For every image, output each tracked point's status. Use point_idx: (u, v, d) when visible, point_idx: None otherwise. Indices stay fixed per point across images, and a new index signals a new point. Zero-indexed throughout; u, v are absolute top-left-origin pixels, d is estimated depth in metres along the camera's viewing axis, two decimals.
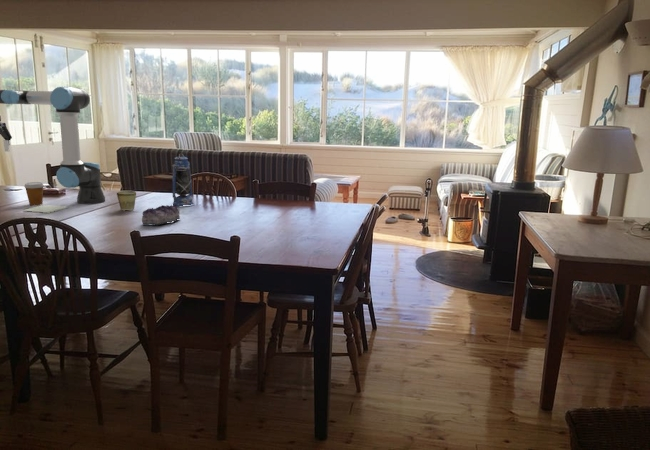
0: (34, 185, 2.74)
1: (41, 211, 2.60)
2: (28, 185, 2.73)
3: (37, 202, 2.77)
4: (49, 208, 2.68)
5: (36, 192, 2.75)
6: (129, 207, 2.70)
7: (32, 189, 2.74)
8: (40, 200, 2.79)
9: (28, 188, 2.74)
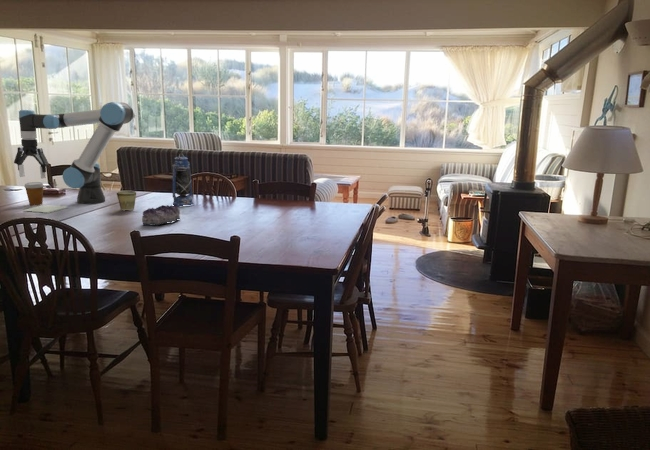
0: (34, 185, 2.74)
1: (41, 211, 2.60)
2: (28, 185, 2.73)
3: (37, 202, 2.77)
4: (49, 208, 2.68)
5: (36, 192, 2.75)
6: (129, 207, 2.70)
7: (32, 189, 2.74)
8: (40, 200, 2.79)
9: (28, 188, 2.74)
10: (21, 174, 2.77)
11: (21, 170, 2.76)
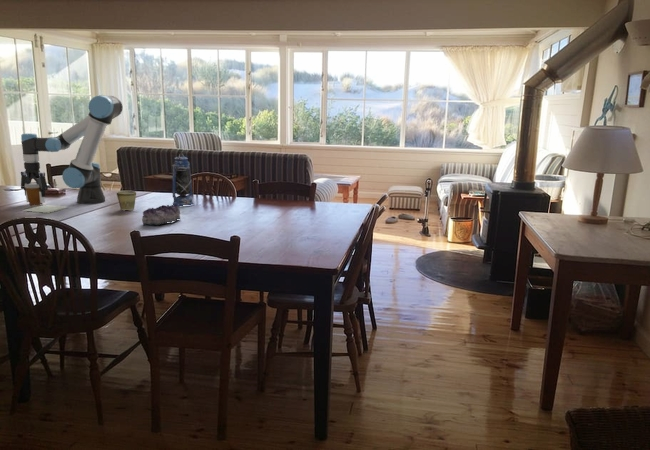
0: (34, 185, 2.74)
1: (41, 211, 2.60)
2: (28, 185, 2.73)
3: (37, 201, 2.77)
4: (49, 208, 2.68)
5: (36, 192, 2.75)
6: (129, 207, 2.70)
7: (32, 189, 2.74)
8: None
9: (28, 188, 2.74)
10: None
11: None
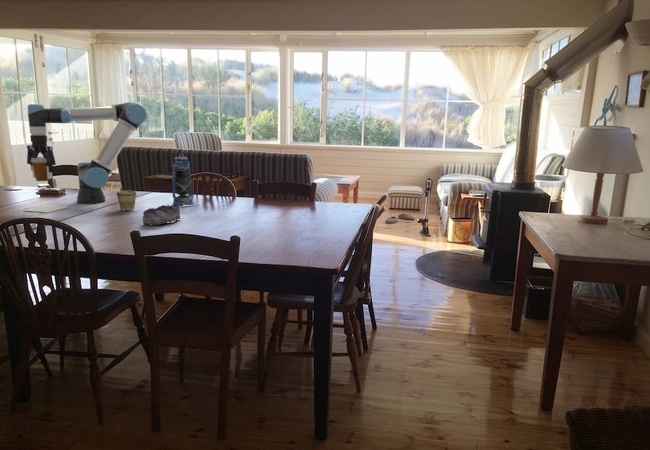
0: (41, 159, 2.58)
1: (41, 211, 2.60)
2: (35, 159, 2.57)
3: (44, 177, 2.61)
4: (49, 208, 2.68)
5: (43, 166, 2.59)
6: (129, 207, 2.70)
7: (39, 163, 2.58)
8: None
9: (35, 162, 2.58)
10: None
11: None
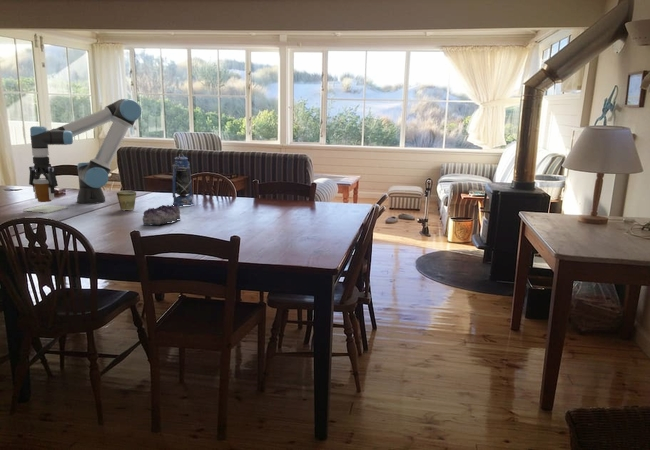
0: (43, 181, 2.60)
1: (41, 211, 2.60)
2: (37, 181, 2.60)
3: (46, 198, 2.64)
4: (49, 208, 2.68)
5: (45, 188, 2.62)
6: (129, 207, 2.70)
7: (41, 185, 2.60)
8: None
9: (37, 184, 2.60)
10: (36, 196, 2.66)
11: None
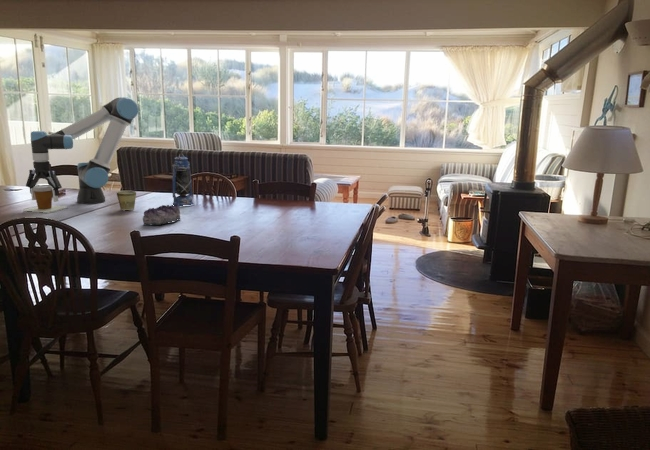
0: (43, 188, 2.61)
1: (41, 211, 2.60)
2: (37, 188, 2.61)
3: (46, 205, 2.65)
4: None
5: (45, 195, 2.63)
6: (129, 207, 2.70)
7: (40, 192, 2.62)
8: (49, 204, 2.66)
9: (37, 191, 2.61)
10: (33, 197, 2.67)
11: (33, 193, 2.66)
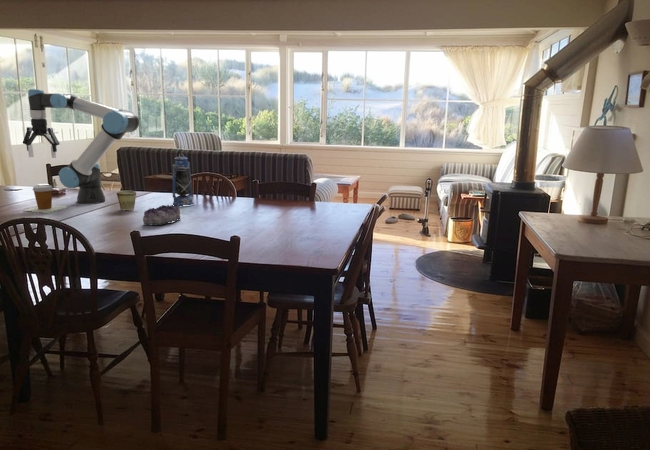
0: (43, 188, 2.61)
1: (41, 211, 2.60)
2: (37, 188, 2.61)
3: (46, 205, 2.65)
4: None
5: (45, 195, 2.63)
6: (129, 207, 2.70)
7: (40, 192, 2.62)
8: (49, 204, 2.66)
9: (37, 191, 2.61)
10: (30, 154, 2.76)
11: (30, 150, 2.76)
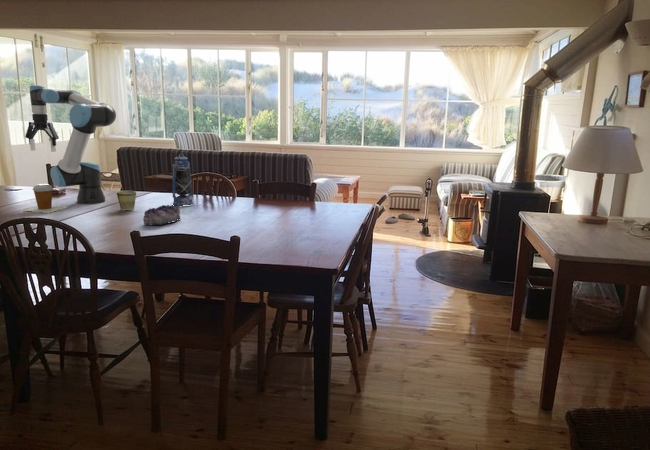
0: (43, 188, 2.61)
1: (41, 211, 2.60)
2: (37, 188, 2.61)
3: (46, 205, 2.65)
4: None
5: (45, 195, 2.63)
6: (129, 207, 2.70)
7: (40, 192, 2.62)
8: (49, 204, 2.66)
9: (37, 191, 2.61)
10: (32, 148, 2.88)
11: (32, 144, 2.88)
